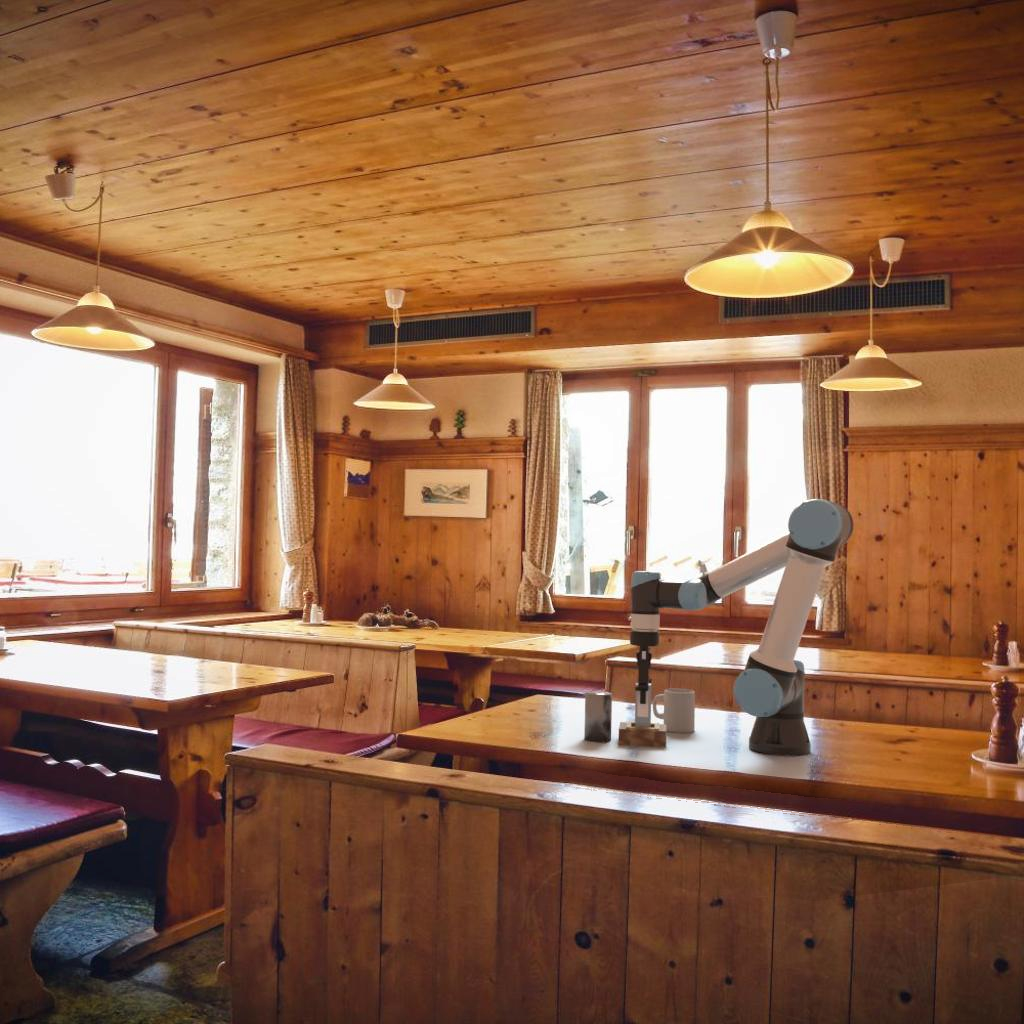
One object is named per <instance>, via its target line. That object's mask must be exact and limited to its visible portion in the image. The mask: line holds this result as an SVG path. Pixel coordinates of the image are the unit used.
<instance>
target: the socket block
mask: <svg viewBox="0 0 1024 1024" xmlns="http://www.w3.org/2000/svg"><path fill="white" fill-rule="evenodd" d="M626 721H627V720H626ZM626 721H624V722H623V721H621V722H619V727H618V745H619V746H620V745H621V746H636V747H640V746H641V747H655V748H656V747H657V748H667V731H666V724H664V723H663V724H662V723H660V722H651V728H649V727H635V721H627V722H626Z"/></svg>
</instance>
